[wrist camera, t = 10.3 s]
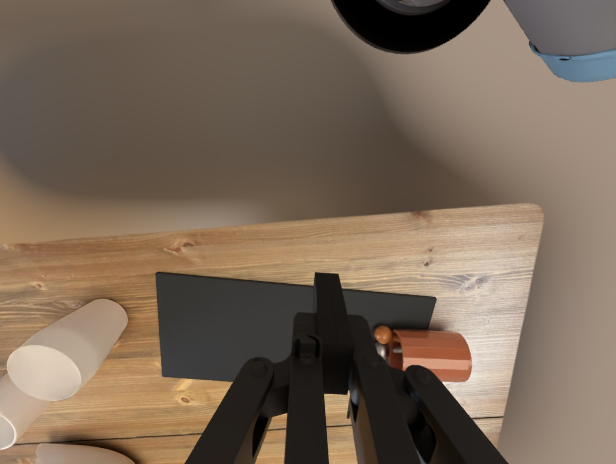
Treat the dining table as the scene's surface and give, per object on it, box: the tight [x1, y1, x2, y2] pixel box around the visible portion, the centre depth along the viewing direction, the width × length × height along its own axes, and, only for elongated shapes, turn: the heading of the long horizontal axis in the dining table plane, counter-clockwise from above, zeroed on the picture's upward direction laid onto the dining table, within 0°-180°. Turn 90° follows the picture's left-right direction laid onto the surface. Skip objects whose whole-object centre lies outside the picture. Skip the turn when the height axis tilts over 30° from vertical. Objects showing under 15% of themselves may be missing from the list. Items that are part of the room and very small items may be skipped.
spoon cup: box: [388, 329, 472, 382], centre depth 45 cm, size 7×7×10 cm
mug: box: [0, 373, 54, 450], centre depth 45 cm, size 12×8×10 cm
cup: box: [7, 299, 128, 401], centre depth 41 cm, size 9×9×12 cm
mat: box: [156, 272, 437, 390], centre depth 48 cm, size 44×20×1 cm, turn 84°
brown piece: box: [374, 325, 400, 344], centre depth 47 cm, size 3×3×12 cm
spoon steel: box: [375, 342, 402, 359], centre depth 47 cm, size 3×3×12 cm
